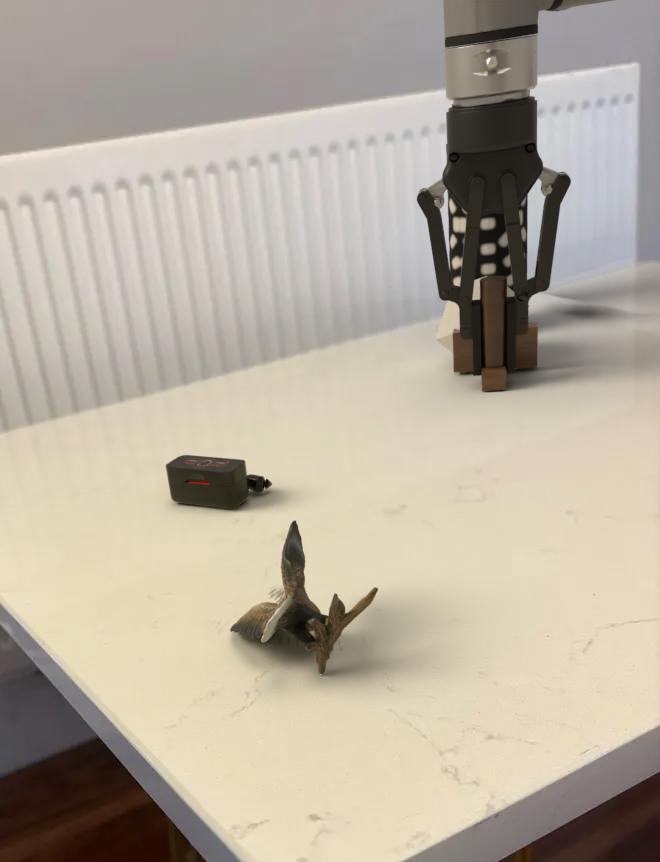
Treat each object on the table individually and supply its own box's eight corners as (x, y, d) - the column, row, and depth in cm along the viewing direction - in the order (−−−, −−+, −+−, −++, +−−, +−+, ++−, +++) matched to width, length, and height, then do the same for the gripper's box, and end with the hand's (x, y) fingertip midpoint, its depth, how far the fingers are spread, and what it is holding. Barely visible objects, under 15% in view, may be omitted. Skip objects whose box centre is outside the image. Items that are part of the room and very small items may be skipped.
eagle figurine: (408, 625, 58) (323, 549, 65) (354, 559, 53) (267, 484, 60) (312, 718, 59) (236, 633, 65) (249, 661, 54) (174, 575, 60)
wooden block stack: (538, 388, 96) (539, 280, 91) (450, 393, 98) (447, 287, 93) (537, 362, 102) (538, 259, 97) (454, 367, 104) (451, 267, 99)
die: (540, 372, 102) (550, 277, 103) (475, 346, 98) (485, 247, 99) (478, 390, 110) (487, 301, 111) (415, 367, 105) (425, 274, 106)
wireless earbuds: (243, 513, 79) (238, 473, 78) (168, 504, 83) (162, 466, 81) (273, 490, 82) (269, 452, 81) (199, 483, 86) (194, 446, 85)
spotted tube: (525, 317, 119) (526, 130, 110) (528, 335, 112) (529, 137, 103) (452, 323, 122) (447, 140, 112) (450, 341, 115) (445, 148, 105)
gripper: (396, 114, 86) (410, 388, 97) (592, 87, 82) (583, 375, 93) (401, 108, 92) (413, 365, 103) (582, 83, 89) (575, 353, 99)
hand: (494, 369), depth 98 cm, fingers closed on wooden block stack, 2 cm apart
